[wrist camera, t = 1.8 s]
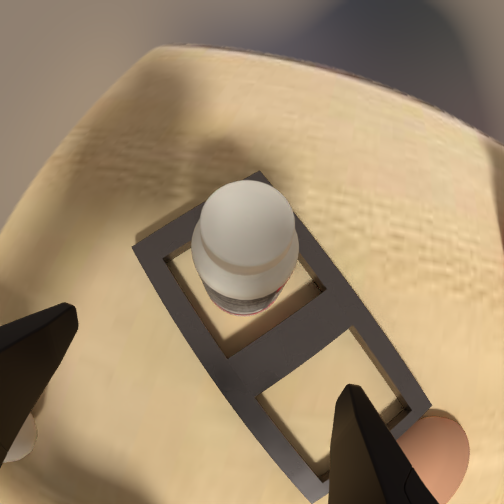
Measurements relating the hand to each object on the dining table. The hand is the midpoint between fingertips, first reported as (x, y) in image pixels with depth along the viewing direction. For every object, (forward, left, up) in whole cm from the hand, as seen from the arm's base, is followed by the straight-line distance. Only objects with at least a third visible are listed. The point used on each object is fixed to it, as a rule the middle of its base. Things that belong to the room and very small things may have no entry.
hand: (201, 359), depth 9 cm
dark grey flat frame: (+4, -1, -12) cm, 13 cm away
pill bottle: (+4, +4, -12) cm, 13 cm away
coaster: (+6, -17, -12) cm, 22 cm away
